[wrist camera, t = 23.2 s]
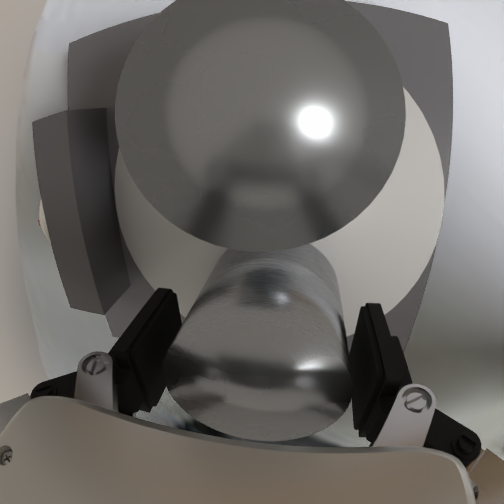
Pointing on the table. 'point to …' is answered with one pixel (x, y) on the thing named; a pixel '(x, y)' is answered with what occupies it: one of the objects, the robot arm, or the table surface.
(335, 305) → the cylinder
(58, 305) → the table surface
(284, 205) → the cylinder
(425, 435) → the robot arm
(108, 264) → the scale
